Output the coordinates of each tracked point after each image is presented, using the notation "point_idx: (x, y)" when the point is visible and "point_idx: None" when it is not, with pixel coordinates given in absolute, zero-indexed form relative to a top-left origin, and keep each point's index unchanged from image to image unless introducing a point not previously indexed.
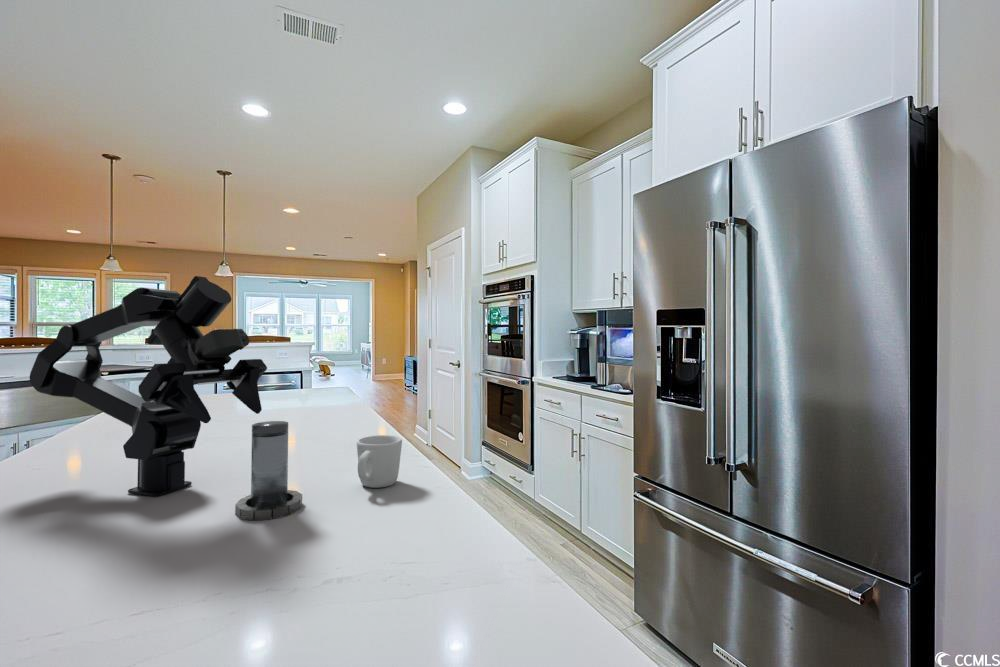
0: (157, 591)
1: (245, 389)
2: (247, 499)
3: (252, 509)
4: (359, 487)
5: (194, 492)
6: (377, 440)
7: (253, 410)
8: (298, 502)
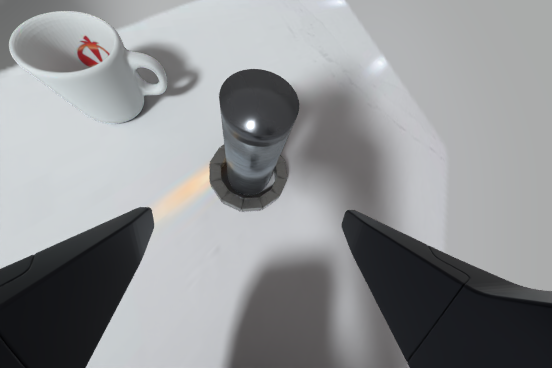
0: (387, 138)
1: (22, 362)
2: (259, 197)
3: (282, 165)
4: (140, 121)
5: (234, 349)
6: (32, 63)
7: (147, 242)
8: None
